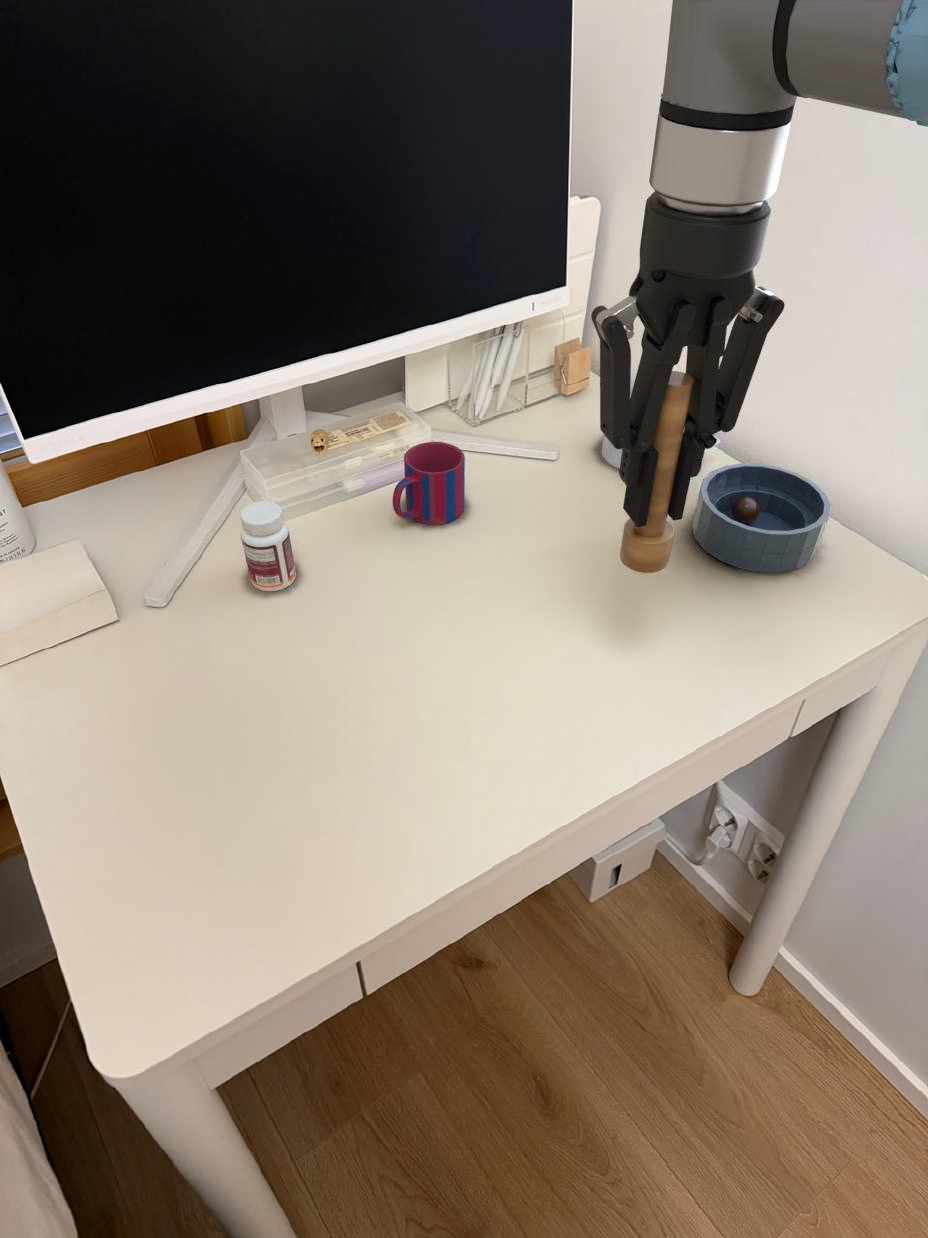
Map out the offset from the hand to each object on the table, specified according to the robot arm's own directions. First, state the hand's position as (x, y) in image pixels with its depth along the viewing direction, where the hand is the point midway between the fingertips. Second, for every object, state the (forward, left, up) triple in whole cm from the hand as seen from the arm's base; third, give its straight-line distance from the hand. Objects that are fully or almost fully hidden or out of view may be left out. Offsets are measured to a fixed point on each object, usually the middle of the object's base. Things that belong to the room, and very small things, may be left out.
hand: (652, 513), depth 68 cm
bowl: (+15, -22, -18) cm, 32 cm away
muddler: (0, 0, -5) cm, 5 cm away
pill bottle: (+22, +30, -18) cm, 41 cm away
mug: (+29, +12, -18) cm, 36 cm away
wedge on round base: (+33, -18, -18) cm, 42 cm away
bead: (+18, -22, -16) cm, 32 cm away
